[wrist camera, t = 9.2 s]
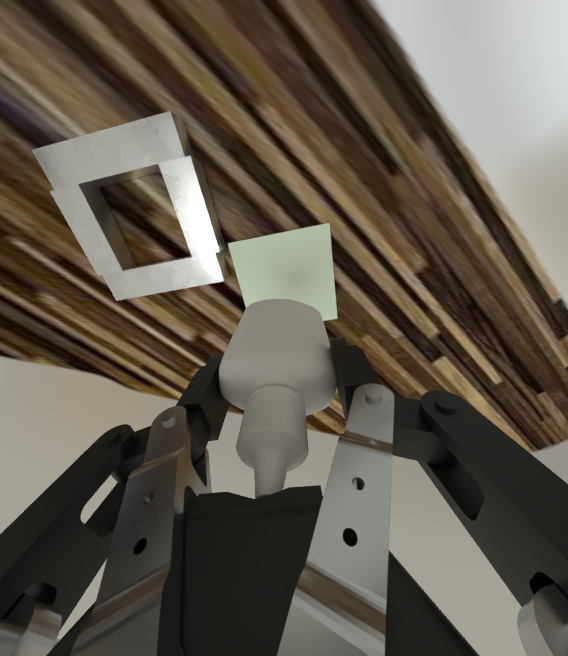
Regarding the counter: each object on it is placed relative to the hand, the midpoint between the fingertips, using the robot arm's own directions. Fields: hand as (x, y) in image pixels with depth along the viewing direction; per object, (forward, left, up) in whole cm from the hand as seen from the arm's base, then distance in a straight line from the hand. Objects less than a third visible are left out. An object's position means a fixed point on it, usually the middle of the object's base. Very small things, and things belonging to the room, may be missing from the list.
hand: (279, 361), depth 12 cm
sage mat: (0, 0, -16) cm, 16 cm away
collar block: (-9, -13, -16) cm, 22 cm away
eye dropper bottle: (0, 0, -6) cm, 6 cm away
